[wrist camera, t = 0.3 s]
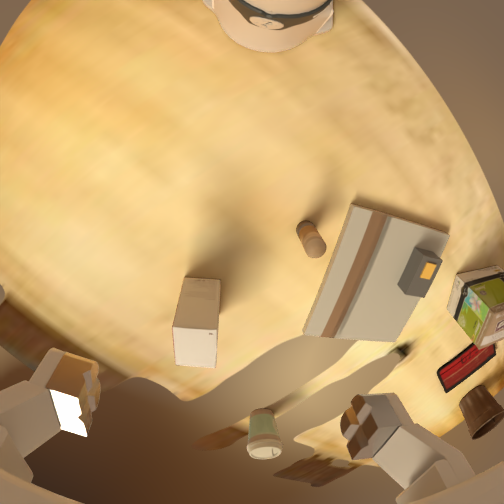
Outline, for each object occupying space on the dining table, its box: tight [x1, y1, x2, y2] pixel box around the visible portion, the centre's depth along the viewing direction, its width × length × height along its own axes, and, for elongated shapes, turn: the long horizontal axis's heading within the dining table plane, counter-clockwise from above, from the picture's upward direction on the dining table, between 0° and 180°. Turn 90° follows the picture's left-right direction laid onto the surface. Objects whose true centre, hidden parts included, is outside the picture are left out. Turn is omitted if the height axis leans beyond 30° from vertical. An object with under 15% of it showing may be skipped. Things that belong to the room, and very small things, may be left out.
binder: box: [437, 343, 496, 393], centre depth 70 cm, size 16×2×21 cm
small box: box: [172, 277, 220, 368], centre depth 48 cm, size 8×6×13 cm
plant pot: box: [459, 385, 504, 440], centre depth 74 cm, size 16×16×16 cm
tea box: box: [447, 265, 504, 349], centre depth 51 cm, size 15×10×15 cm, turn 96°
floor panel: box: [303, 204, 450, 342], centre depth 54 cm, size 26×22×2 cm
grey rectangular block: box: [397, 247, 443, 298], centre depth 50 cm, size 8×5×4 cm, turn 167°
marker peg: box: [296, 221, 326, 258], centre depth 46 cm, size 3×3×7 cm
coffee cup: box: [247, 408, 283, 459], centre depth 65 cm, size 8×8×12 cm
